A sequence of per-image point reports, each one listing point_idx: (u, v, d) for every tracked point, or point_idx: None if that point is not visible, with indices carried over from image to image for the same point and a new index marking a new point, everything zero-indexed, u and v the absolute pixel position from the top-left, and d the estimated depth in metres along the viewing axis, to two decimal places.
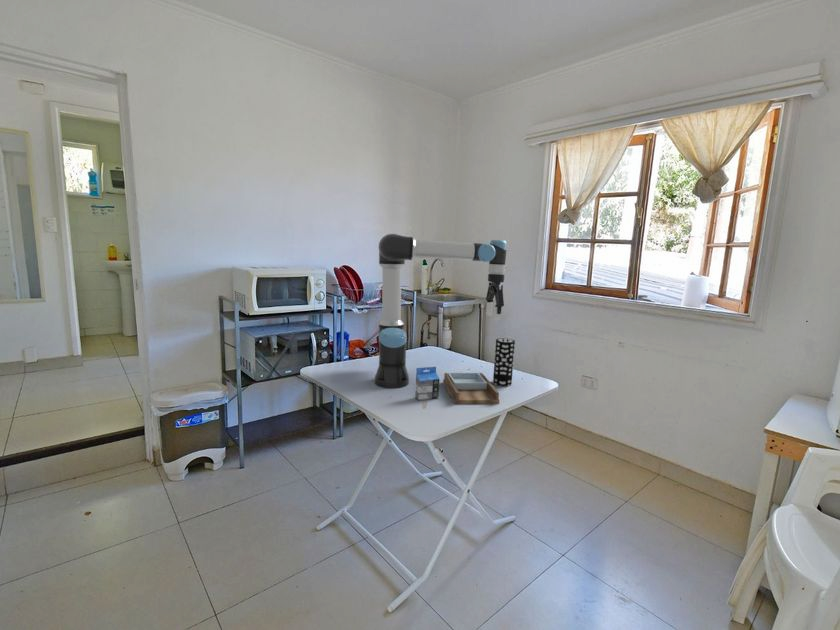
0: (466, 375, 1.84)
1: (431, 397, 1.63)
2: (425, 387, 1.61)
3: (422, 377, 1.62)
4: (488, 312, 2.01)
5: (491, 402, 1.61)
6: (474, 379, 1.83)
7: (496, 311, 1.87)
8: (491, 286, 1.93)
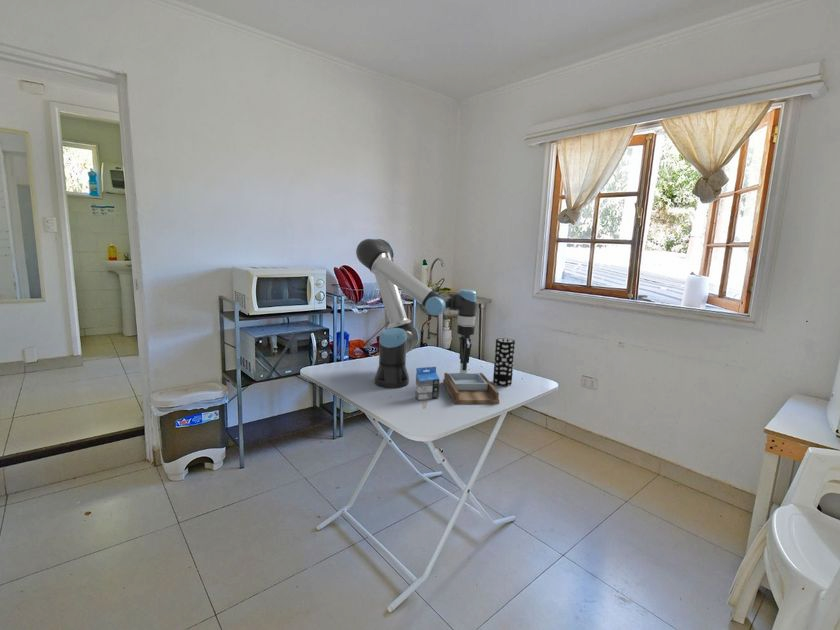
0: (466, 376, 1.83)
1: (431, 397, 1.63)
2: (425, 387, 1.61)
3: (422, 377, 1.62)
4: None
5: (491, 402, 1.61)
6: (474, 380, 1.82)
7: (461, 367, 1.83)
8: (461, 337, 1.82)
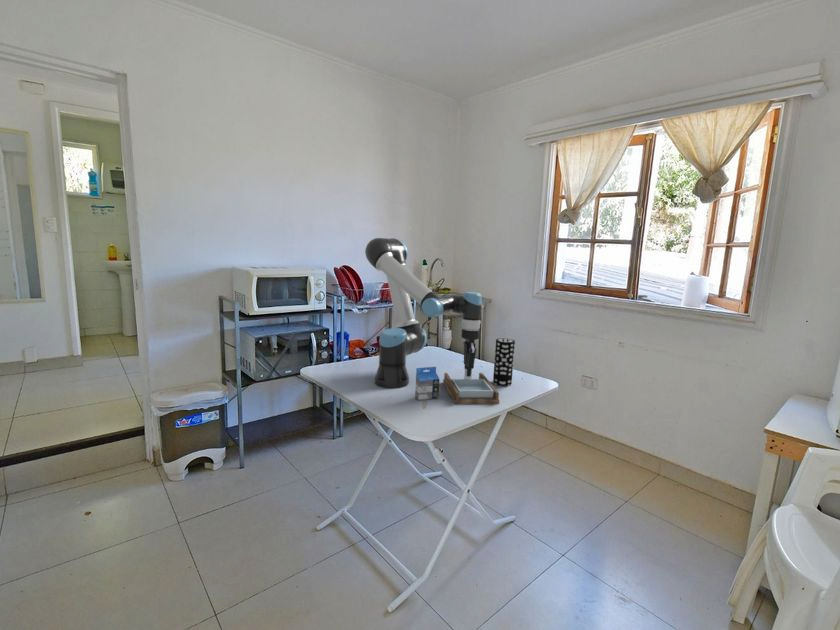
0: (471, 382, 1.75)
1: (431, 397, 1.63)
2: (425, 387, 1.61)
3: (422, 377, 1.62)
4: None
5: (491, 402, 1.61)
6: (479, 386, 1.74)
7: (466, 373, 1.74)
8: (465, 342, 1.74)
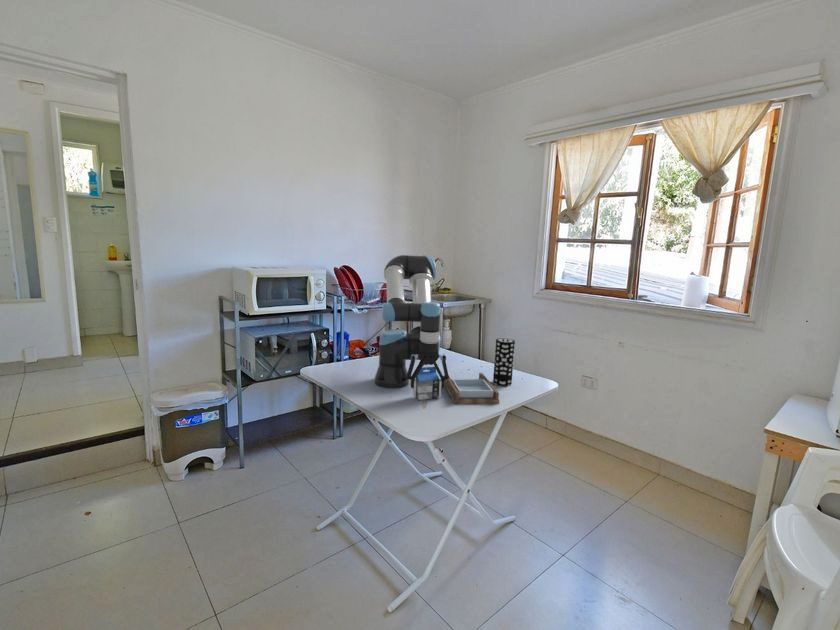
0: (471, 382, 1.75)
1: (431, 397, 1.63)
2: (425, 387, 1.61)
3: (422, 377, 1.62)
4: (415, 392, 1.63)
5: (491, 402, 1.61)
6: (479, 386, 1.74)
7: (441, 386, 1.63)
8: (427, 357, 1.60)
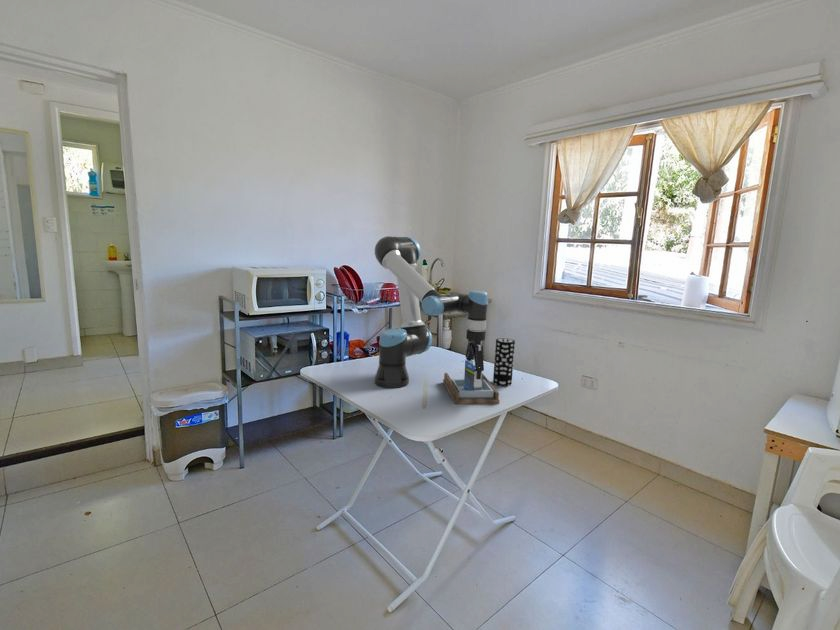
0: None
1: None
2: None
3: None
4: None
5: (491, 402, 1.61)
6: None
7: None
8: None
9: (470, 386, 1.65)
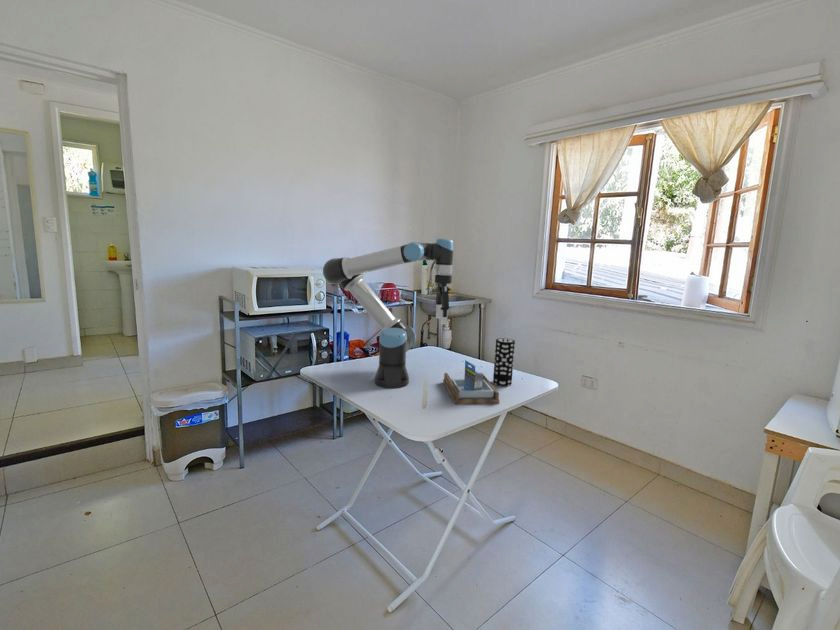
0: None
1: None
2: None
3: (477, 372, 1.64)
4: None
5: (491, 402, 1.61)
6: None
7: None
8: None
9: (470, 386, 1.65)
